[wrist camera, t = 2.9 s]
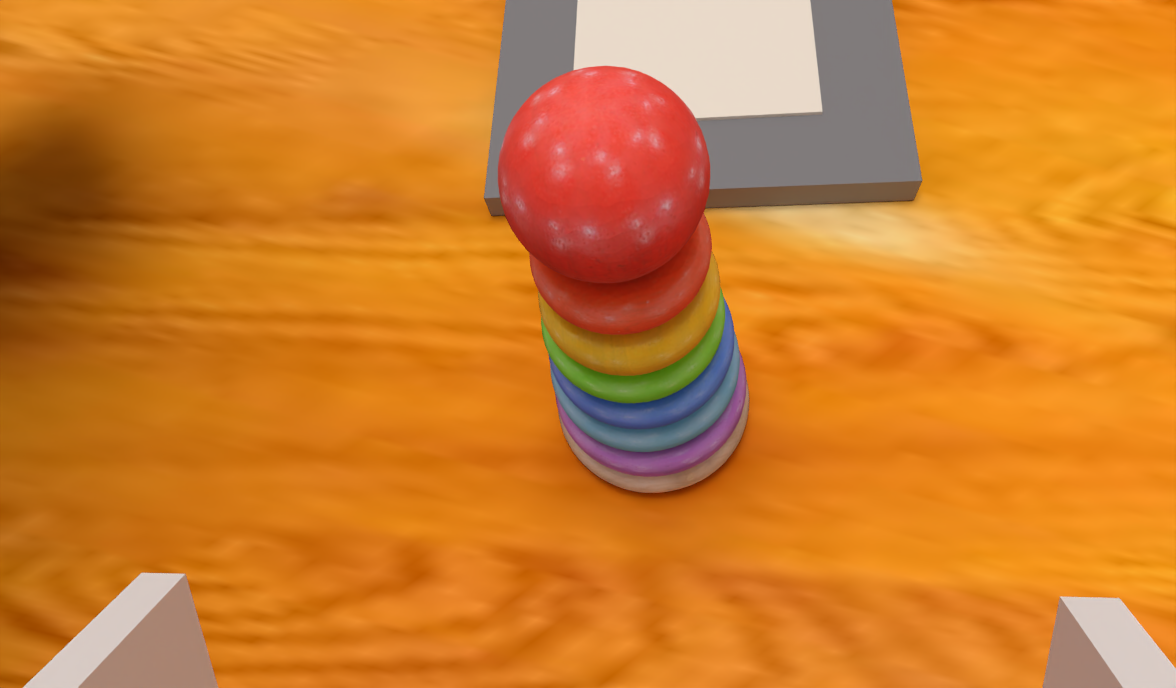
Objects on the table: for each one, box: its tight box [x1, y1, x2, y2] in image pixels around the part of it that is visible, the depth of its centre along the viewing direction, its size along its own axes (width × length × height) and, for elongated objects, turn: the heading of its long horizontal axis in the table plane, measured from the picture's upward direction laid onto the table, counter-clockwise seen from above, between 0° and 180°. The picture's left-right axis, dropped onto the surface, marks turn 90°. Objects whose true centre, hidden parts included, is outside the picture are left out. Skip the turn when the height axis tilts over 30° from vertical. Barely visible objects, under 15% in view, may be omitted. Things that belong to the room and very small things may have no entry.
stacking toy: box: [498, 66, 749, 493], centre depth 25 cm, size 8×8×19 cm
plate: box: [484, 0, 922, 216], centre depth 40 cm, size 20×20×2 cm
